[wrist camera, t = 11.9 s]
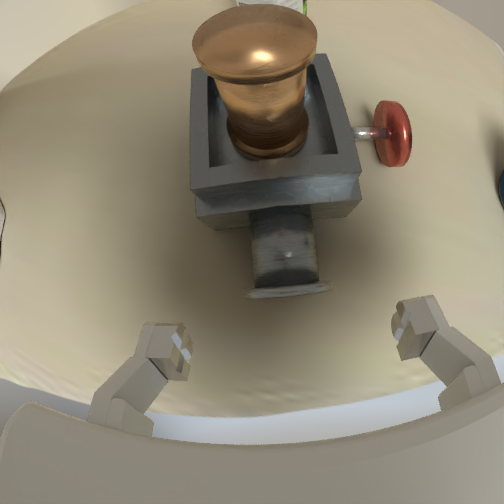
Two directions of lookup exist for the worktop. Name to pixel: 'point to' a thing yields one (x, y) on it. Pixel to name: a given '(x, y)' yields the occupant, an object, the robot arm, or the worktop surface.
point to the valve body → (286, 178)
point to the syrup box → (297, 3)
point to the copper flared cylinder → (260, 75)
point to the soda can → (501, 188)
